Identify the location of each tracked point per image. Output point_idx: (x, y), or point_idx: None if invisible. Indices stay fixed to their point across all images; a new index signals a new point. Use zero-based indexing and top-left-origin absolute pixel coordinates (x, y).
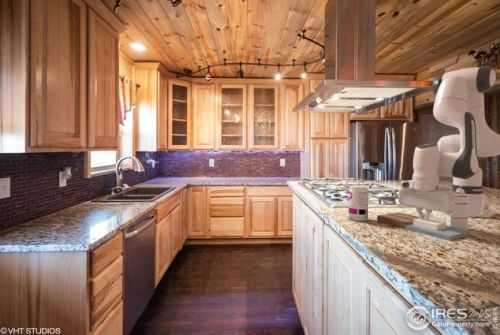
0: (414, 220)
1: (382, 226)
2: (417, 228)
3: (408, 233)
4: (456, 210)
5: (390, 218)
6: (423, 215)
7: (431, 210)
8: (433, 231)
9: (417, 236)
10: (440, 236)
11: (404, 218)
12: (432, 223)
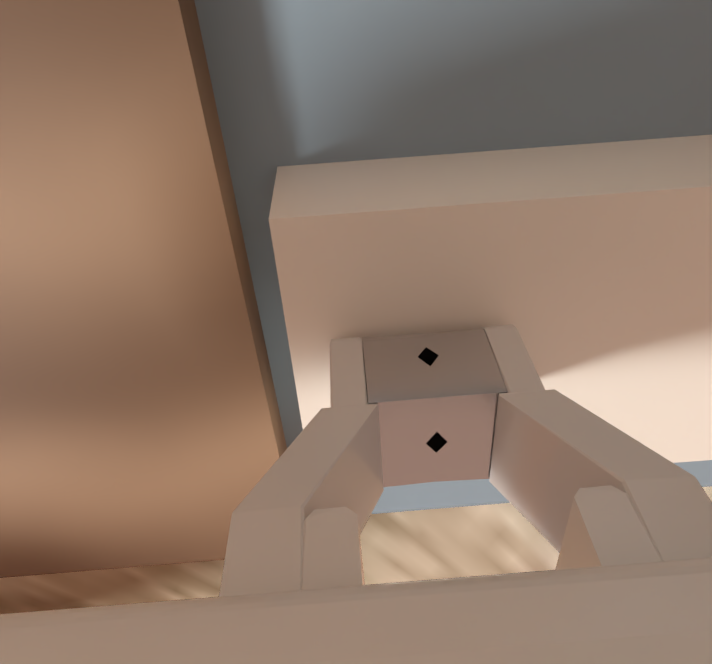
0: None
1: (139, 586)
2: (480, 500)
3: (451, 554)
4: None
5: (25, 565)
6: (459, 478)
7: (709, 555)
8: (688, 469)
9: (558, 555)
10: None
11: (44, 401)
12: (667, 445)
